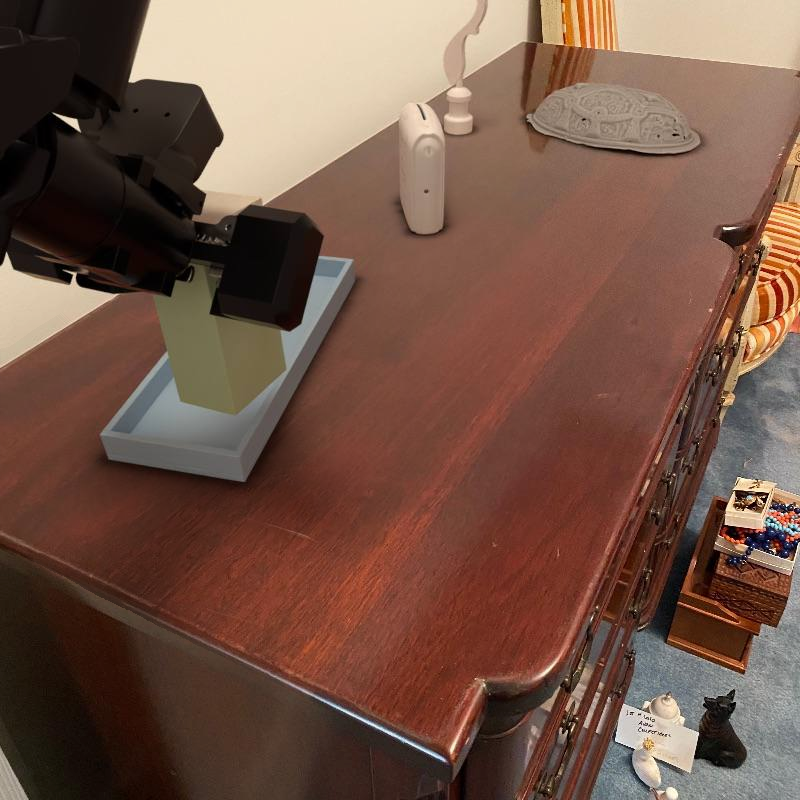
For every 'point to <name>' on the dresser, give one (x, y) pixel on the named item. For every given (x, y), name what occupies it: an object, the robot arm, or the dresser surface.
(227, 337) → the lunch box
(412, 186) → the photo printer
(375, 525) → the dresser surface
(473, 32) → the decorative finial
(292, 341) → the dish tray
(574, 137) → the grey textured dome
